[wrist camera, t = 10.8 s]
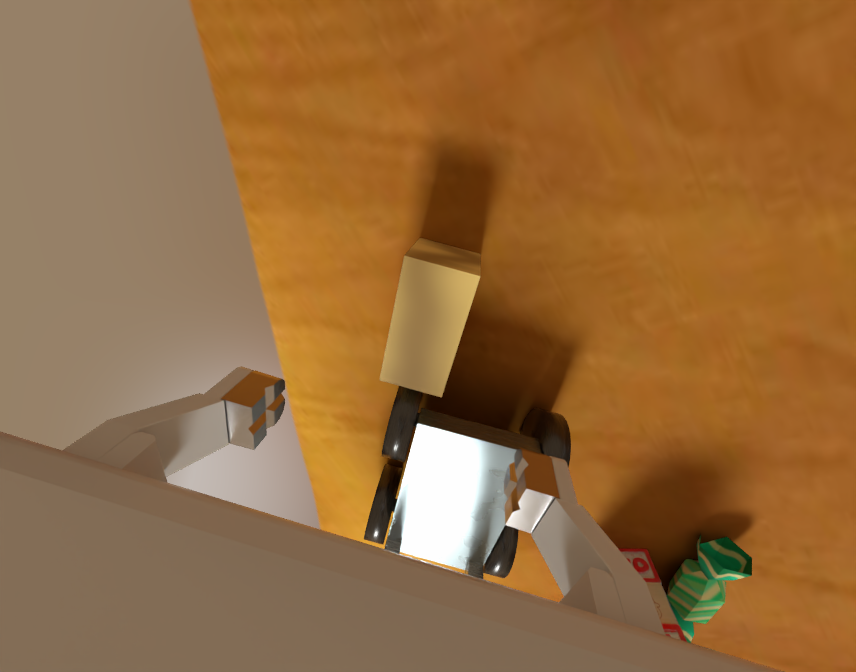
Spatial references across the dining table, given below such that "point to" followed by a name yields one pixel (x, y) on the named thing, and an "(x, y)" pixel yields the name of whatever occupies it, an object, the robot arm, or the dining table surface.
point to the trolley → (454, 485)
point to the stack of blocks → (655, 590)
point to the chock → (429, 315)
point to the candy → (705, 582)
